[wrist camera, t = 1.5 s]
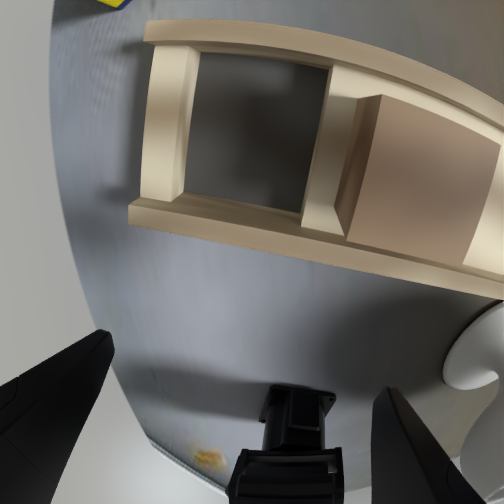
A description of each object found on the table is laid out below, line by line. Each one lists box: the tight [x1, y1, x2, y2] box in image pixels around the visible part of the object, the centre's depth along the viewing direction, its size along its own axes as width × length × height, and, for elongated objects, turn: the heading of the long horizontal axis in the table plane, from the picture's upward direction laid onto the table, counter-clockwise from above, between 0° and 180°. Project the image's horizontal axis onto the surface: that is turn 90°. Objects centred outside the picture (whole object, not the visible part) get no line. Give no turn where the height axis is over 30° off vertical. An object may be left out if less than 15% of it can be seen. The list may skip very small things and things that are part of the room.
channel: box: [128, 19, 504, 300], centre depth 15 cm, size 11×25×4 cm, turn 81°
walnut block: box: [334, 94, 501, 268], centre depth 12 cm, size 6×6×4 cm
